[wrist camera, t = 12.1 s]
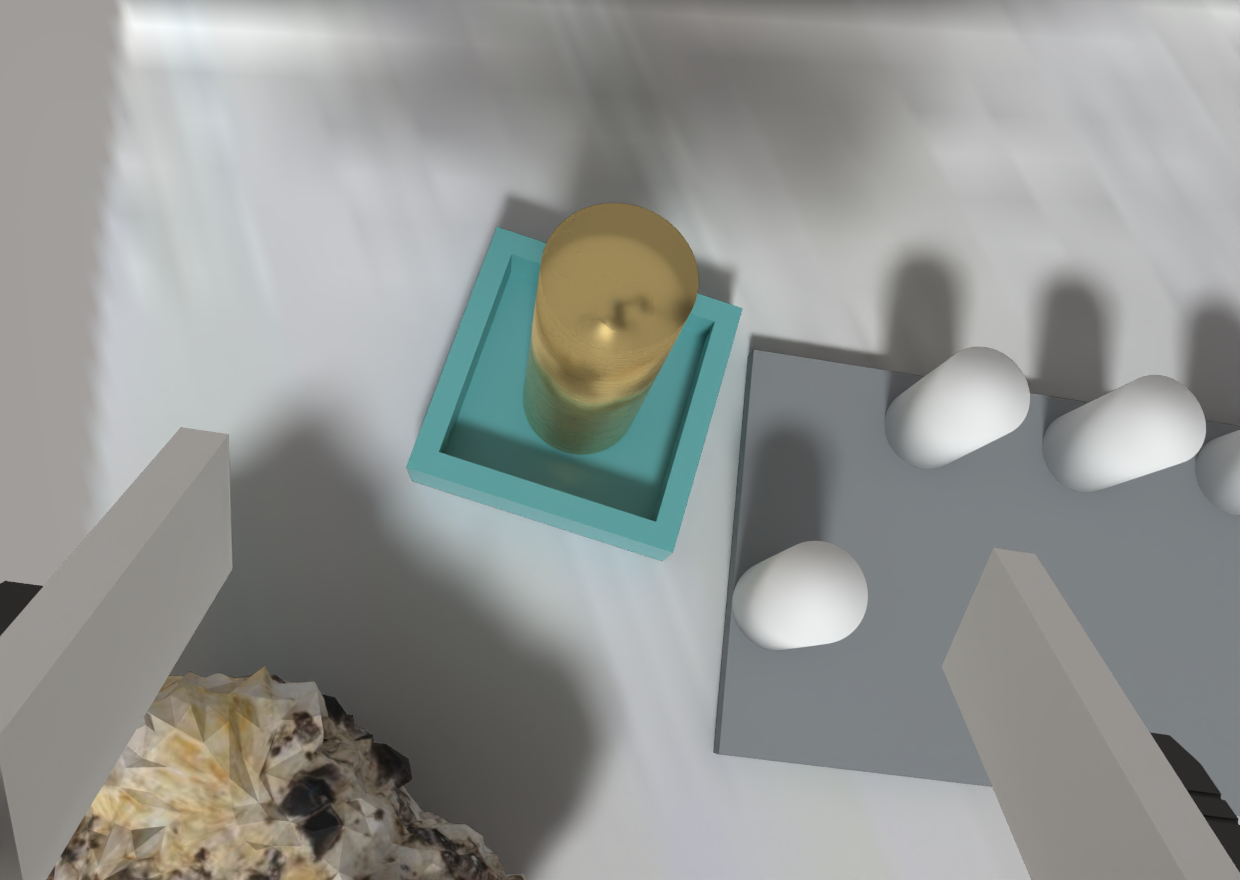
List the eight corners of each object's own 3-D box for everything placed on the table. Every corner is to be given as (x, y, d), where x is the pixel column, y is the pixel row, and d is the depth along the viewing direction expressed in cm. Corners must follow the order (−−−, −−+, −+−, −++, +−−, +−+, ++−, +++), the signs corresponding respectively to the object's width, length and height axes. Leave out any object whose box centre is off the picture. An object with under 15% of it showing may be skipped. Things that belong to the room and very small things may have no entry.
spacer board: (1369, 454, 38) (1505, 417, 32) (1404, 835, 34) (1565, 860, 29) (748, 357, 35) (790, 301, 30) (713, 752, 32) (754, 764, 27)
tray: (728, 330, 36) (742, 308, 34) (662, 561, 33) (672, 552, 31) (496, 253, 35) (496, 226, 33) (411, 480, 33) (406, 467, 31)
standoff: (649, 365, 34) (715, 231, 25) (619, 469, 33) (675, 370, 23) (542, 331, 34) (566, 182, 24) (507, 434, 33) (519, 320, 23)
